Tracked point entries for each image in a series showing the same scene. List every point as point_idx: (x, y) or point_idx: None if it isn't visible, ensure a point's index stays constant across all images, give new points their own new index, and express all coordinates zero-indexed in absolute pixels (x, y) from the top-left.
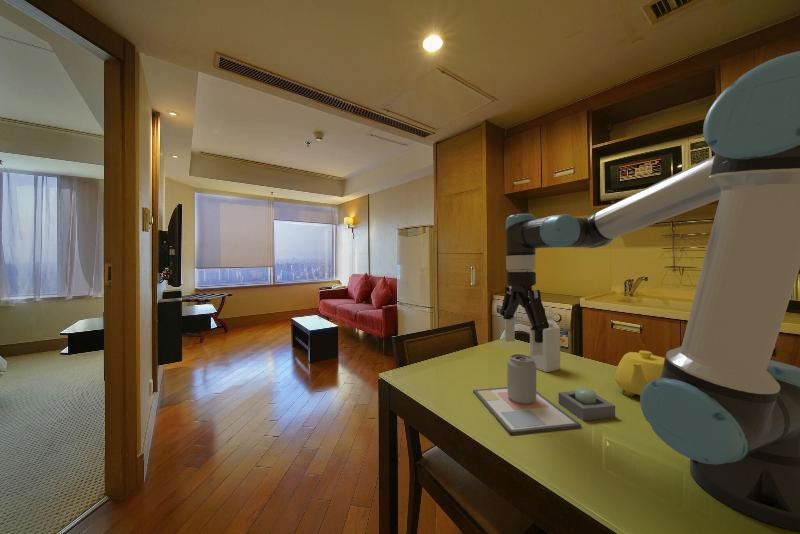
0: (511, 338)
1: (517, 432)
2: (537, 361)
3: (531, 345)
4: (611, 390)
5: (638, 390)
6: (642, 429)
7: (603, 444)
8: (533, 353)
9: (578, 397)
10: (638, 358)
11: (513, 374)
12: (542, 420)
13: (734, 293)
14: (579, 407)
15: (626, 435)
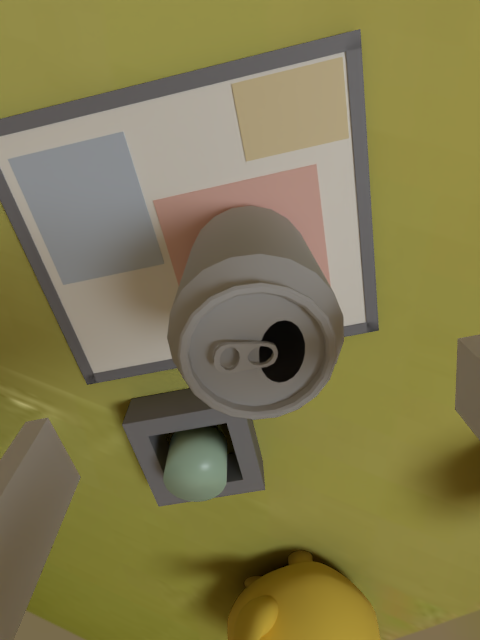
0: (469, 399)
1: None
2: None
3: (2, 478)
4: (326, 537)
5: (258, 588)
6: (113, 499)
7: (13, 393)
8: (23, 436)
9: (185, 444)
10: None
11: (201, 255)
12: (91, 282)
13: None
14: (137, 419)
15: (75, 458)
